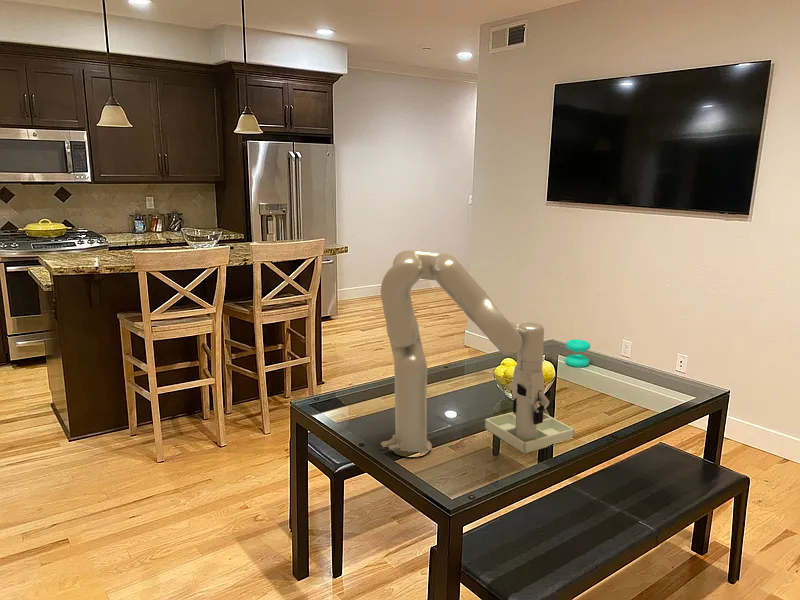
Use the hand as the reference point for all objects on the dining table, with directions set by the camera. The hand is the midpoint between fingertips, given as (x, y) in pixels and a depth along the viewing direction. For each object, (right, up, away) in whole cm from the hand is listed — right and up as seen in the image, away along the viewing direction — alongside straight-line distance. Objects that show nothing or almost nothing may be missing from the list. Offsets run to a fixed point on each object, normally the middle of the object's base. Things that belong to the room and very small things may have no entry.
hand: (527, 417), depth 180 cm
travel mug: (0, -8, +2) cm, 9 cm away
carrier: (+2, -7, +8) cm, 11 cm away
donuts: (+37, +8, +75) cm, 84 cm away
